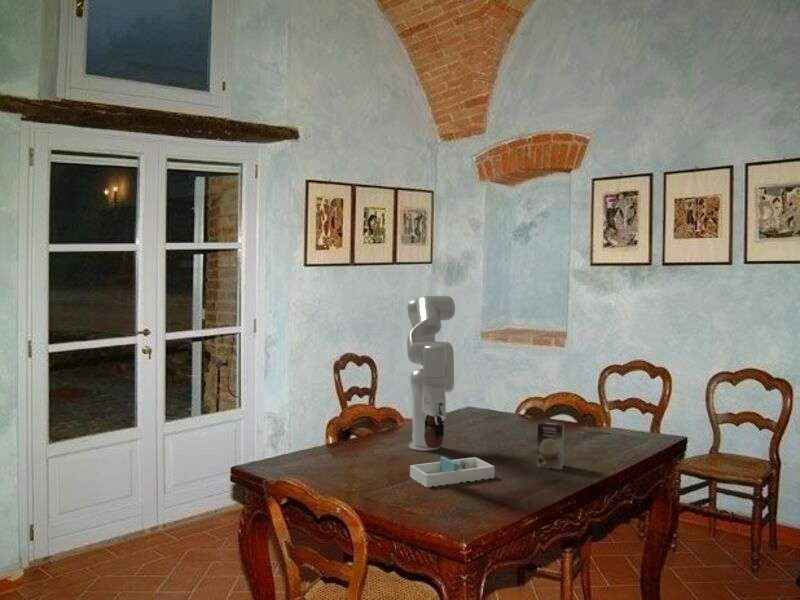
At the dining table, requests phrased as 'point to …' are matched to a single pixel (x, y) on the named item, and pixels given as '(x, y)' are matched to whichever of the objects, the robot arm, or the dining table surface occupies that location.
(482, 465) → the lane
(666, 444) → the dining table surface
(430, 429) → the wooden figurine
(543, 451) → the coffee box
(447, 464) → the pusher paddle
